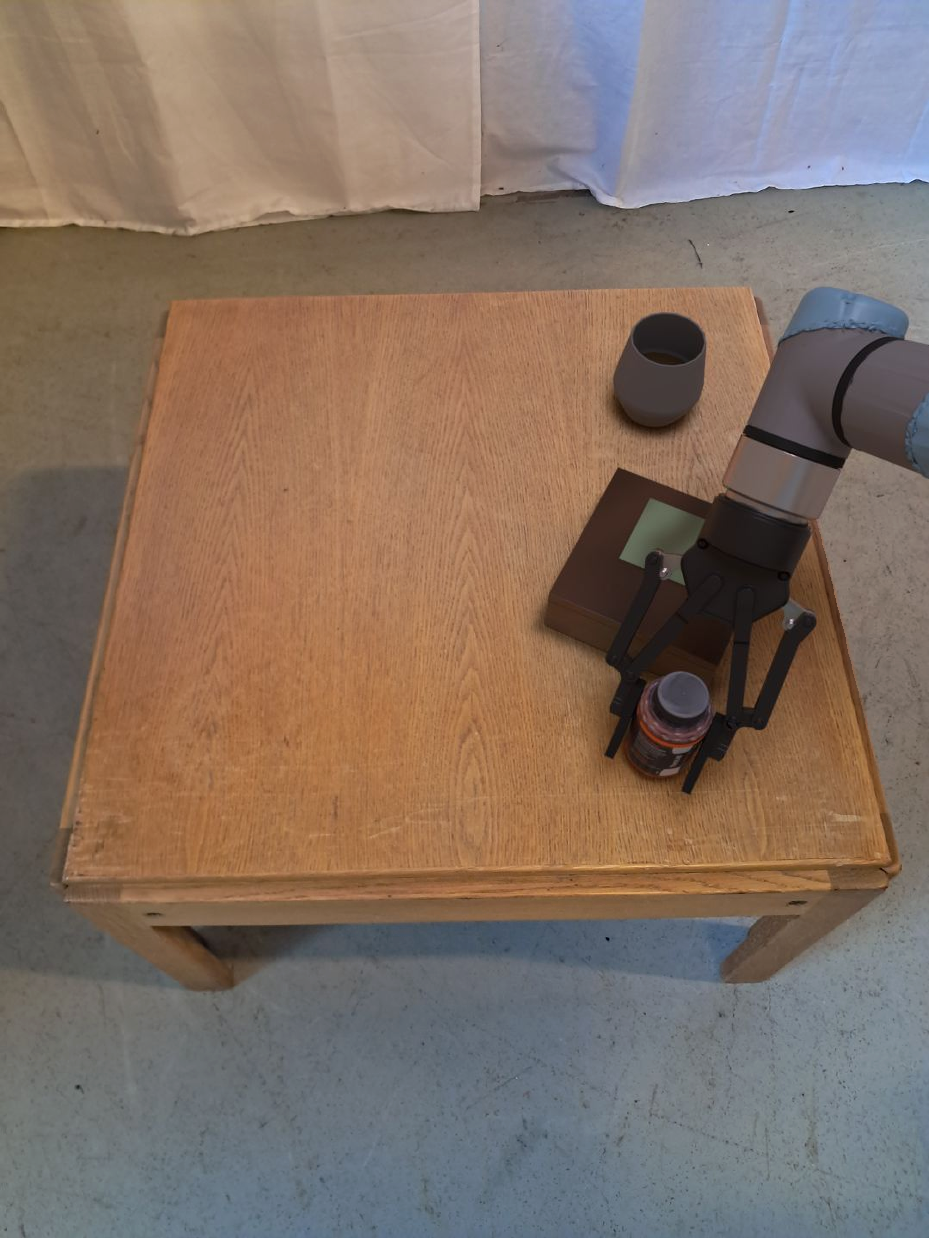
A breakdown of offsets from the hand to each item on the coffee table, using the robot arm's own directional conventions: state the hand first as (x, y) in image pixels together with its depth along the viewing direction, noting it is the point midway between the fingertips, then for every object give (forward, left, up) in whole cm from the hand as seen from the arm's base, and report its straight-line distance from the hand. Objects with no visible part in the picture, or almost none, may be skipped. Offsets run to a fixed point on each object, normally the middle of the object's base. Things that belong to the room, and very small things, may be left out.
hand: (649, 768), depth 75 cm
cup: (+15, -41, -5) cm, 44 cm away
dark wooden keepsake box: (+6, -19, -5) cm, 20 cm away
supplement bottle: (0, -4, -4) cm, 5 cm away
